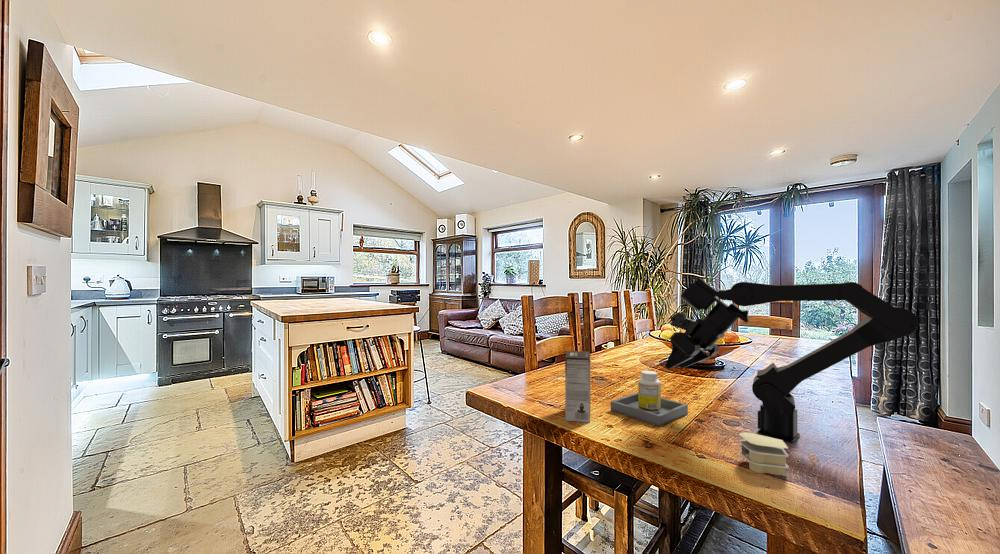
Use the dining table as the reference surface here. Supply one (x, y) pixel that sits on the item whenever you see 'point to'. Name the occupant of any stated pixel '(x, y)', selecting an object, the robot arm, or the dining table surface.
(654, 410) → the supplement bottle
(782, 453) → the stacked layers on plate
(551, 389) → the dining table surface
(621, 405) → the tray
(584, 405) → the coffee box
